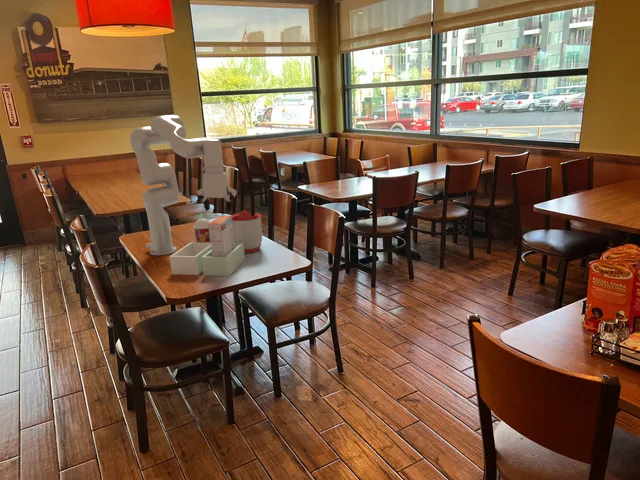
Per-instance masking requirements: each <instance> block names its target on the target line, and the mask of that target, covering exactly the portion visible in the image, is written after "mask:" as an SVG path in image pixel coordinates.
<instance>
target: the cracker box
mask: <svg viewBox="0 0 640 480" xmlns="http://www.w3.org/2000/svg"><path fill="white" fill-rule="evenodd" d="M231 215H232V214H231ZM231 215H230V214H229V215H219V216H217V217H216V218H215V219H213V220H212V221H210V223H209V224H208V225H209V233H210V240H211V248H212V255H213V257H226V256H227V255H228V254H229V253H230V252H231V251H233V250H234V249H235V246H234V237H233V228H232V220H231Z"/></svg>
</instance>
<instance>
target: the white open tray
mask: <svg viewBox="0 0 640 480" xmlns="http://www.w3.org/2000/svg"><path fill="white" fill-rule="evenodd" d="M210 250H212V248H211V243H202V242H197V241H196V242H191V241H190V242H189V243H188V244H186V245H185V246H183V247H182V248H180V249H179V250H176V251H175V252H173V253H171V255H169V256H168V257H169V263H170V269H171V275H183V276H184V275H185V276H187V275H188V276H199V275H200V274H201V273H202V272H203V265H202V256H204V255H205V254H206V253H208V252H209V251H210Z"/></svg>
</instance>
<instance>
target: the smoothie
mask: <svg viewBox="0 0 640 480" xmlns="http://www.w3.org/2000/svg"><path fill="white" fill-rule="evenodd" d="M209 223H211V221H210V220H208V219H207V218H204V217H203V212H200V218H199V219H197V220H196V221H195V223H194V225H193V230H194V233H195V235H194V236H195V240H196V242H202V243H211V240H210V233H209V225H208V224H209Z"/></svg>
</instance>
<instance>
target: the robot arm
mask: <svg viewBox="0 0 640 480" xmlns="http://www.w3.org/2000/svg"><path fill="white" fill-rule="evenodd" d="M149 125H150V126H141V127H137V128H135V129H134V130H132V132H131V134H130V144H131V147H132V150H133V153H134V154H135V157H136V160H137V165H138V169H139V173H140V178H141V182H142V184H144V185H145V186H157V185H161V184H162V186H157V187H153V188H148V189H147V190H145V191H144V192H143V193H142V202H143V205H144V207H145V210H146V214H147V215H146V216H147V220H148V221H147V222H148V227H149V234H150V239H151V243H150V242H146V243H145V249H150V251H149V254H150V255H151V256H167V255H170V254H171V255H172V254H174V253H176V252H177V251H178V249H177V247H176V245H175V246H174V244H173V237H172V231H171V224H170V217H169V214H168V212H167V211H166V210H165V209H164V208H165V207H168V206H171V205H174V204H177V203H178V202H179V201H180V191H179V190H180V189H179V186H178V180H177V175H176V173H175V172H176V171H175V169H174V168H173V166H172V165H171V164H169V163H168V162H161V163H159V162H158V160H157V154H156V153H155V152H154V150H153V149H152V148H151V147H149V146H157V145H160V146H161V145H167V144H169V145H170V147H171V150H172V151H173V152H174V153H175V154H177V155H179V156H180V157H183V158H185V159H194V158H202V157H203V163H204V164H203V165H204V166H202V167H201V171H204V173H202V187H201V188H200V189H198V190H196V194H197V196H199V198H200V199H201V201H202V202H203V206H204V209H205V212H207V211H209V210H210V209H211V207H210V206H211V205H210V204H211V203H210V200H209V199H223V198H224V199H225V200H226V202H225V204H226V211H227V212H230V211H231V210H232V209H233V205H232V201H233V200H234V198H235V197H236V194H237V190H236V189H234V188H232V187H231V186H230V185H229V182H228V177H227V173H226V172H224V171H225V170H224V160H223V149H222V141H221V140H220V139H217V138H208V137H197V138H190V139H187V131H186V128H185V124H184V121H183V119H182V118H181V117H180V116H179V115H175V114H173V115H172V114H171V115H158V116H156V117H153V118H152V120H151V121H150V124H149ZM230 193H231V195H230Z"/></svg>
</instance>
